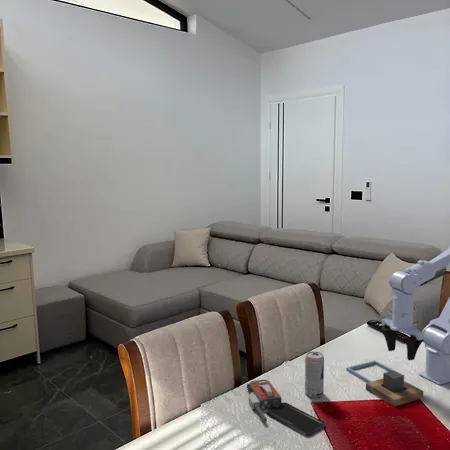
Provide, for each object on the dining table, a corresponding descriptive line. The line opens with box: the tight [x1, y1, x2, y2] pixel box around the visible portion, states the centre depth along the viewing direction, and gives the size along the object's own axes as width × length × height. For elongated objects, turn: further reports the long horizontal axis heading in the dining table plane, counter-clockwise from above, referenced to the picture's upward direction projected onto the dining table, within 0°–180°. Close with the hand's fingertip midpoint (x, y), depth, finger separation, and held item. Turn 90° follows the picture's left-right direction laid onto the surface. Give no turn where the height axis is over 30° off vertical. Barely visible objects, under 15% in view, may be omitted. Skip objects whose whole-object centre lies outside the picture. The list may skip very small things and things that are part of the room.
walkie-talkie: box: [246, 378, 283, 423], centre depth 128 cm, size 9×4×20 cm
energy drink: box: [304, 351, 325, 399], centre depth 133 cm, size 5×5×12 cm
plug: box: [382, 369, 405, 393], centre depth 133 cm, size 4×4×6 cm
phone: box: [265, 401, 326, 438], centre depth 120 cm, size 8×1×15 cm
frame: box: [345, 359, 404, 383], centre depth 146 cm, size 12×12×1 cm
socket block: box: [365, 377, 424, 407], centre depth 133 cm, size 11×11×2 cm
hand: (401, 354), depth 138 cm, fingers open, 7 cm apart
